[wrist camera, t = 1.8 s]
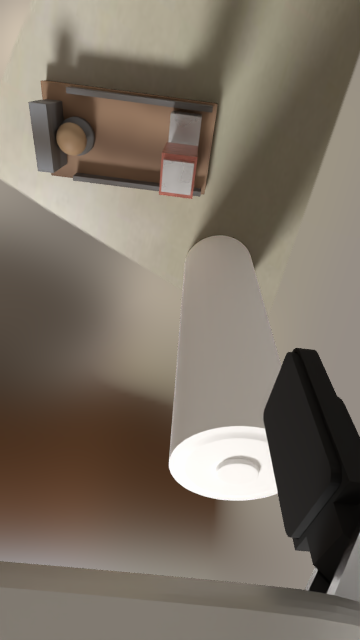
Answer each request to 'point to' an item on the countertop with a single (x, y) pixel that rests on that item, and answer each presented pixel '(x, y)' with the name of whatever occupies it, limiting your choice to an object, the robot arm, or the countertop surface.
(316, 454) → the robot arm
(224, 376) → the cylinder container
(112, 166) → the nutcracker board
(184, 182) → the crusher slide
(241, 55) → the countertop surface
